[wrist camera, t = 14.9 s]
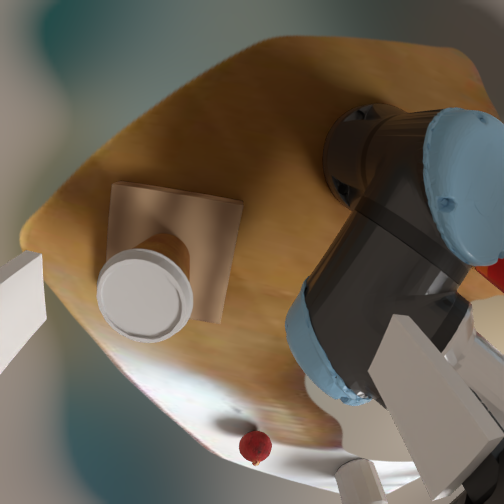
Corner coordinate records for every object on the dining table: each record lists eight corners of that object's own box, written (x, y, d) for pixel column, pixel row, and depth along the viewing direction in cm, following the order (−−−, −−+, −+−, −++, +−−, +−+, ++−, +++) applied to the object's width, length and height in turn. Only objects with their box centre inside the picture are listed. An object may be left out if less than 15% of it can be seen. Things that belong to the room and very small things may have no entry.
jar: (351, 454, 59) (372, 518, 42) (380, 458, 61) (403, 515, 44) (325, 476, 62) (340, 536, 45) (355, 479, 64) (372, 534, 47)
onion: (246, 419, 53) (248, 453, 45) (275, 425, 54) (279, 458, 46) (234, 436, 55) (234, 469, 47) (261, 442, 56) (264, 474, 48)
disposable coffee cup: (115, 265, 39) (78, 310, 28) (153, 204, 37) (120, 231, 26) (176, 306, 41) (159, 362, 30) (218, 250, 39) (212, 295, 28)
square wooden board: (242, 201, 40) (243, 205, 38) (220, 312, 45) (220, 324, 43) (120, 180, 39) (112, 183, 36) (112, 292, 44) (105, 301, 41)
